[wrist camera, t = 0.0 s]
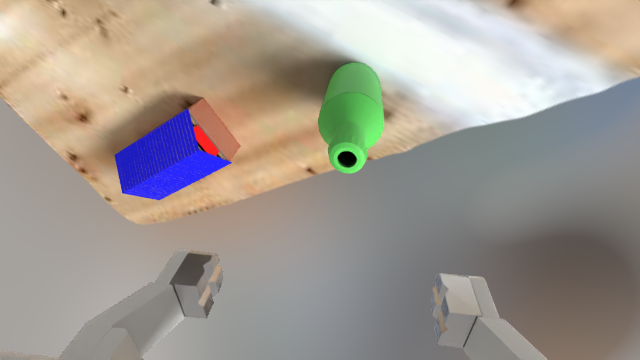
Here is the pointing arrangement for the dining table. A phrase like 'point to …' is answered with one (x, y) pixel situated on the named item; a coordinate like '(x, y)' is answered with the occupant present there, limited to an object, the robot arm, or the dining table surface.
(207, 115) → the brown and blue block
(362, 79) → the bottle
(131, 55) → the dining table surface
